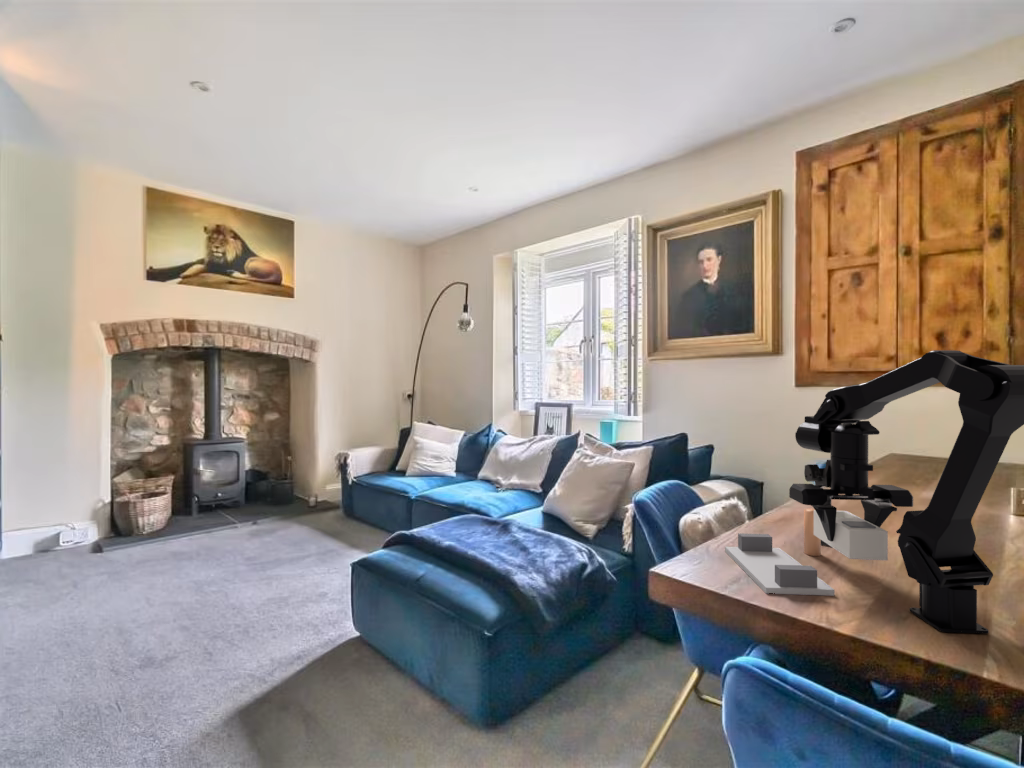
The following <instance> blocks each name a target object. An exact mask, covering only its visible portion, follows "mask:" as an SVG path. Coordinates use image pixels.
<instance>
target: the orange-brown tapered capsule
mask: <svg viewBox="0 0 1024 768" xmlns="http://www.w3.org/2000/svg"><path fill="white" fill-rule="evenodd" d="M814 510H815V509H814V508H808V507H807V508H803V553H804V554H805V555H807V556H811V557H821V555H822V548H821V547H822V545H821V539H819V538H818V537H816V536H815V535H814Z"/></svg>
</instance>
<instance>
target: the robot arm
mask: <svg viewBox="0 0 1024 768" xmlns="http://www.w3.org/2000/svg"><path fill="white" fill-rule="evenodd" d="M939 383H940V384H942V386H944V387H945V388H946V389H949V390H951V391H954V392H956V393H958V394H959V395H958V396H959V397H958V402H957V403H958V408H959V411H960V414H961V418H962V426H961V427H960V430H959V432H958V436H957V438H956V440H955V443H954V445H953V446H952V449H951V451H950V454H949V456H948V459H947V460H946V463H945V465H944V469H943V470H942V472H941V475H940V478H939V480H938V482H937V484H936V487H935V489H934V492H933V494H932V497H931V499H930V501H929V503H928V505H927V507H926V508H925V509H924V510H923V509H921V510H919V509H918V510H907V511H906V512H905V513H904V515H903V517H902V523H901V525H900V527H899V528H898V529H897V530H896V534H899V535H898V539H897V546H898V548H899V550H900V554H901V557H902V560H903V563H904V566H905V570H906V573H907V576H908V577H909V578H911V579H913V580H915V581H916V583H918V584H919V591H918V592H919V595H918V596H919V601H918V603H919V604H918V605H919V607H909V611H910V613H911V614H913V615H915V617H917V618H919V619H921V620H923V621H924V622H925V623H927V624H929V626H932V627H933V628H935V629H936V630H937V631H939V632H942V633H960V634H962V633H963V634H984V635H985V634H986V635H987V634H989V633H990V632H989V631H990V629H988V628H987V627H985V626H984V625H982V624H980V623H978V590H977V589H976V588H975V586H989V585H990V583H991V581H992V579H993V578H994V577H993V576H994V573H993V572H992V570H990V568H989V567H988V566H987V564H986V563H985V562H984V561H983V559H982V558H981V557H980V556H979V555H978V553H977V552H976V551H975V550H974V549H975V544H976V540H977V539H976V536H977V535H976V534H975V530H974V527H973V524H972V520H973V517H974V515H975V513H976V511H977V508H978V506H979V504H980V502H981V500H982V498H983V496H984V494H985V492H986V489H987V487H988V485H989V483H990V480H991V479H992V477H993V475H994V472H995V470H996V468H997V465H998V463H999V461H1000V459H1001V458H1002V455H1003V453H1004V451H1005V448H1006V447H1007V444H1008V443H1009V440H1010V439H1011V436H1012V435H1013V434H1014V433H1015V432H1016V431H1017V430H1019V429H1020V428H1022V427H1023V426H1024V364H1016V365H1015V364H1008V363H1005V362H1000V361H996V360H991V359H987V358H982V357H978V356H975V355H971V354H969V353H966V352H963V351H961V350H957V349H955V350H953V349H952V350H950V349H949V350H944V349H943V350H942V349H941V350H939V349H938V350H937V349H935V350H931V351H928V352H926V353H924V354H923V355H922V356H921V357H919V358H917V359H915V360H912V361H911V362H907V363H906V364H903V365H901V366H899V367H896V368H895V369H893V370H891V371H888V372H886V373H884V374H882V375H879V376H877V377H876V378H874V379H871V380H869V381H866V382H863V383H860V384H852V385H848V386H841V387H837V388H834V389H830V390H829V391H827V392H826V394H825V396H824V400H822V403H821V404H820V407H818V409H817V411H816V413H815V414H814V415H812V416H811V415H809V416H808V415H807V416H804V421H803V422H802V423H800V425H799V426H798V427H797V429H796V431H795V433H794V434H795V436H794V438H795V441H796V443H797V445H799V446H800V447H801V448H802V449H806V450H812V451H816V452H822V453H827V454H830V459H826V461H825V467H819V465H818V464H805V465H804V479H805V481H806V482H814V483H792V485H791V486H790V487H789V493H788V494H789V495H788V498H790V499H791V500H794V501H795V502H798V503H800V504H801V505H805V506H811V507H813V508H812V509H815V511H816V512H817V514H818V516H819V518H820V521H821V523H822V526H823V528H824V531H825V533H826V536H827V539H828V540H829V541H833V540H834V535H835V524H836V511H838V510H837V509H838V507H836V506H834V505H832V500H837V501H838V500H846V501H847V500H848V501H849V500H850V501H860V502H861V505H862V509H863V511H864V512H863V516H864V517H863V519H864V520H866V521H868V522H870V523H872V524H874V525H876V526H878V527H880V528H882V527H881V526H882V525H883V524H884V523H885V521H886V519H887V518H888V517H889V516H890V515H891V514H892V513H893V512H898V507H899V508H900V507H901V508H902V507H903V508H904V507H905V508H913V507H914V495H913V494H912V493H911V491H910V490H908V489H907V488H902V487H899V486H896V485H894V484H871V486H869V472H874V465H873V464H870V463H869V435H870V436H873V435H880V430H879V429H878V428H876V427H875V426H874V425H873V424H872V423H871V422H870V421H869V419H871V418H873V417H874V416H876V415H877V414H879V413H881V412H882V411H883V410H884V408H885V406H887V405H888V404H890V403H891V402H893V401H896V400H898V399H901V398H903V397H904V398H905V397H906V396H908V395H911V394H913V393H916V392H919V391H922V390H924V389H926V388H928V387H932V386H935V385H937V384H939ZM823 487H824V488H823ZM825 487H826V488H825ZM887 520H888V519H887ZM945 567H946V568H948V567H950V569H941V568H945Z"/></svg>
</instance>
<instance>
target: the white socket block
mask: <svg viewBox="0 0 1024 768" xmlns="http://www.w3.org/2000/svg"><path fill="white" fill-rule="evenodd" d="M814 535H815V536H816V537H818V538H819V539H821V540H822V541H824V542H825V543H827V544H828V545H827V546H831V547H830V548H833V549H834V550H836V552H839V553H840V554H842V555H843V556H845V557H846V558H847V559H849V560H864V561H866V560H869V561H889V558H888V553H889V548H888V546H889V545H888V544H889V543H888V542H889V538H888V537H889V531H887V530H886V529H884V528H882V527H878V526H876V525H874V524H872V523H870V522H868V521H866V520H864V518H861V517H859V516H858V515H855V514H854V513H851V512H850V511H847V510H837V511H836V524H835V535H834V540H833V541H829V540H828V539H827V536H826V533H825V531H824V528H823V526H822V523H821V521H820V518H819V516H818V514H817V512H816V511H815V510H814Z"/></svg>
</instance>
